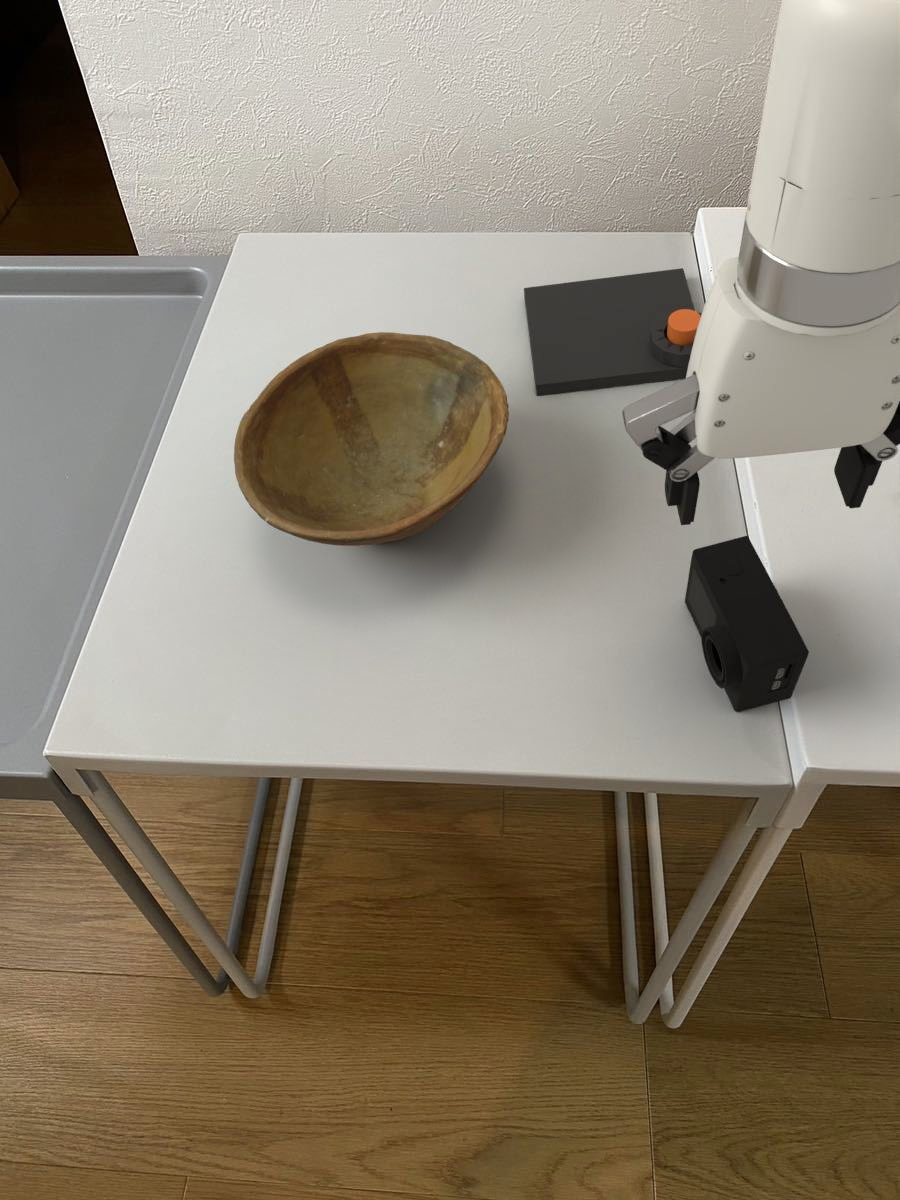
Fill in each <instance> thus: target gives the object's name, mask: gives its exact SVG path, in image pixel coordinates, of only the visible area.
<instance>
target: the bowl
mask: <svg viewBox="0 0 900 1200" xmlns="http://www.w3.org/2000/svg"><path fill="white" fill-rule="evenodd" d="M509 407H510V406H509V403H508V395H507V392H506V390H505V387H504V386H503V383H502V382H501V380H500V379H499V377H498V376H497V375H496V374H495V372H494V370H493V369H491V367H490V366H489V364H488V363H486V362H485V361H484V360H482V359H481V358H480V357H479V356H477V355H476V354H474V353H472V352H470V351H468V350H466V349H464V348H463V347H460V346H458V345H456V344H454V343H452V342H450V341H448V340H445V339H442V338H439V337H436V336H431V335H425V334H424V335H423V334H410V333H399V332H390V331H389V332H386V331H378V332H369V333H368V332H367V333H364V334H361V335H356V336H349V337H345V338H344V337H343V338H339V339H336V340H334V341H331V342H329V343H326V344H324V345H323V346H321V347H317V348H315V349H314V350H312V351H310V352H307V353H305V354H304V355H302V356H300V357H299V358H297V359H296V360H294V361H293V362H291V363H290V364H289V365H287V366H286V367H285V368H284V369H282V370H281V371H279V372H277V374H276V375H275V376H274V377H273V378H272V379H271V380H270V381H269V382H268V384H266V386H265V388H263V389H262V391H261V392H260V393H259V395H258V397H257V398H256V399H255V400H254V401H253V402H252V404H251V405H250V406H249V409H247V410H246V411H245V413H244V414H243V416H242V417H241V419H240V422H239V423H238V424H239V425H238V427H237V431H236V434H235V438H234V446H233V447H234V448H233V451H234V452H233V462H234V463H233V464H234V475H235V479H236V482H237V484H238V487H239V489H240V492H241V493H242V495H243V497H244V499H245V501H246V502H247V503H248V505H249V506H250V508H251V509H252V510H253V511H254V512H255V513H256V514H257V515H258V516H259V518H260V519H262V520H263V521H264V522H266V523H267V524H268V525H270V526H271V527H273V528H275V529H276V530H278V531H281V532H283V533H285V534H289V535H291V536H294V537H295V538H299V539H301V540H305V541H308V542H314V543H317V544H318V543H319V544H323V545H332V546H346V547H348V546H349V547H350V546H352V547H353V546H354V547H355V546H357V547H358V546H359V547H360V546H369V545H377V544H384V543H389V542H395V541H400V540H403V539H407V538H409V537H412V536H415V535H416V534H419V533H421V532H423V531H424V530H427V528H429V527H431V526H432V525H433V524H435V523H436V522H437V521H438V520H439V519H441V518H442V517H443V516H445V515H446V514H448V512H450V511H451V510H453V509H454V508H455V507H456V506H457V505H458V504H459V503H460V502H461V501H462V500H463V498H465V496H466V495H467V494H469V492H470V491H471V489H472V488H473V486H474V485H475V484H476V483H477V482H478V480H480V478H481V477H482V475H483V474H484V473H485V471H486V470H487V468H488V466H489V465H490V463H491V462H492V460H493V459H494V457H496V455H497V453H498V451H499V449H500V447H501V445H502V444H503V439H504V438H505V436H506V434H507V428H508V422H509V417H510V411H509Z"/></svg>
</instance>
